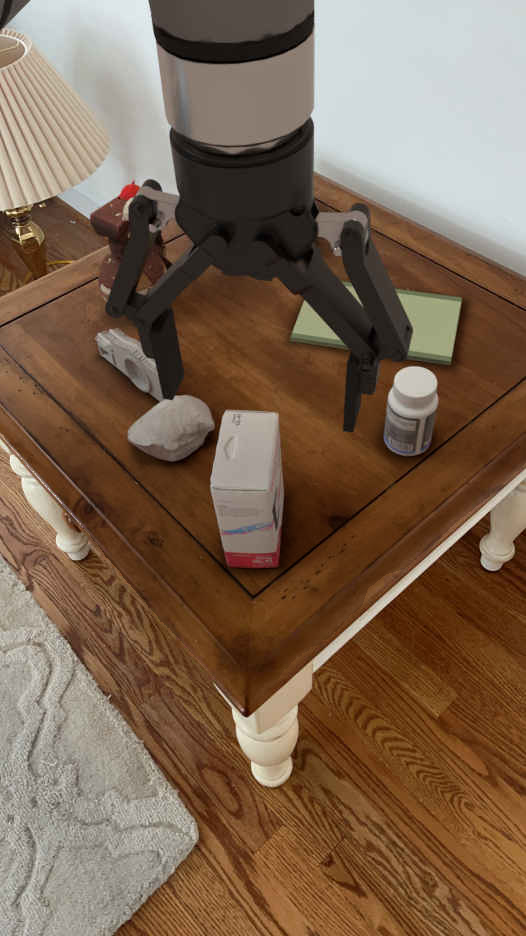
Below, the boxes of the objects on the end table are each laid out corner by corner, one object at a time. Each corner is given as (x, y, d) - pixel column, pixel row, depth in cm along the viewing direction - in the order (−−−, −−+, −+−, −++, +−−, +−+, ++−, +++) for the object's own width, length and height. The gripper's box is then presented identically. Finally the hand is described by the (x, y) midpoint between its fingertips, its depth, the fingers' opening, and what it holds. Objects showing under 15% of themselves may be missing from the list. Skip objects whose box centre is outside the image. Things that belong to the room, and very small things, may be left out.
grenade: (140, 272, 94) (116, 160, 82) (193, 292, 91) (175, 179, 79) (92, 316, 89) (59, 204, 77) (146, 338, 86) (120, 225, 75)
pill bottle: (416, 416, 77) (426, 357, 71) (439, 448, 74) (451, 390, 68) (374, 430, 76) (381, 371, 70) (396, 463, 73) (405, 405, 67)
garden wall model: (99, 357, 85) (86, 316, 80) (111, 348, 86) (100, 308, 81) (166, 410, 79) (157, 370, 75) (179, 401, 80) (171, 361, 75)
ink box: (278, 571, 67) (273, 493, 57) (222, 567, 67) (208, 490, 58) (285, 492, 72) (282, 409, 63) (233, 489, 72) (222, 407, 63)
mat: (290, 341, 85) (290, 337, 84) (312, 281, 91) (312, 277, 91) (450, 365, 81) (451, 361, 81) (461, 301, 88) (462, 297, 87)
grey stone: (181, 482, 73) (174, 450, 69) (117, 450, 76) (107, 418, 72) (230, 425, 78) (226, 391, 74) (167, 397, 80) (160, 363, 77)
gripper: (497, 104, 38) (438, 394, 54) (51, 65, 43) (123, 342, 60) (482, 184, 33) (423, 473, 50) (-12, 131, 38) (85, 410, 55)
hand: (260, 402), depth 55 cm, fingers open, 13 cm apart
